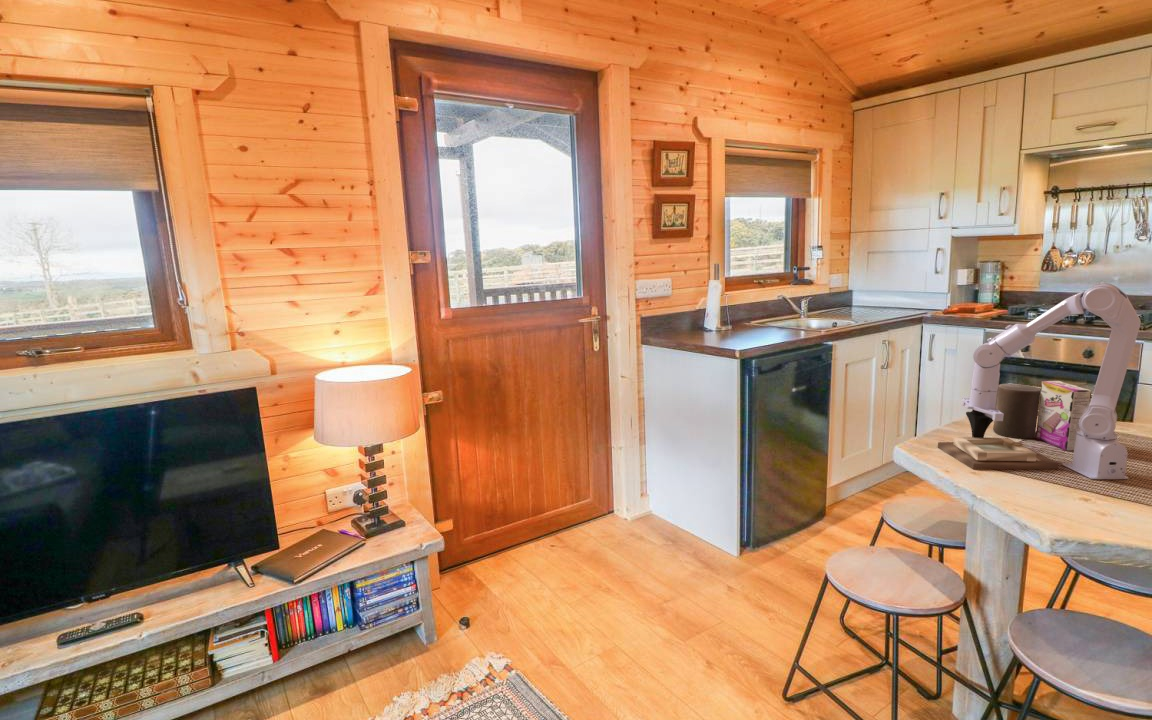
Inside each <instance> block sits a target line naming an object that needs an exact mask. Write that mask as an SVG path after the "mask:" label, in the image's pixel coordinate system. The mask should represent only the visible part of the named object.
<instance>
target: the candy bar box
mask: <svg viewBox="0 0 1152 720" xmlns="http://www.w3.org/2000/svg"><path fill="white" fill-rule="evenodd" d="M1040 389H1041V391H1040V400H1039V408H1038V416H1037V424H1036V432H1035V438H1036V439H1038V440H1041V441H1043V442H1045V443H1047V444H1050V445H1052V446H1054V447H1056V448H1058V449H1061V450H1063V451H1067V452H1074V446H1075V438H1076V430H1077V429H1080V427H1079V420H1080V418H1081V417H1082V412H1083V410H1084V409H1085V408H1086V407H1087V406H1088V405H1089V404H1090V402H1091V399H1092V393H1093V390H1091V389H1088V388H1085V387H1081V386H1078V385H1074V384H1071V383H1068V382H1065V381H1061V380H1042V381H1041V386H1040Z"/></svg>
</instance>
